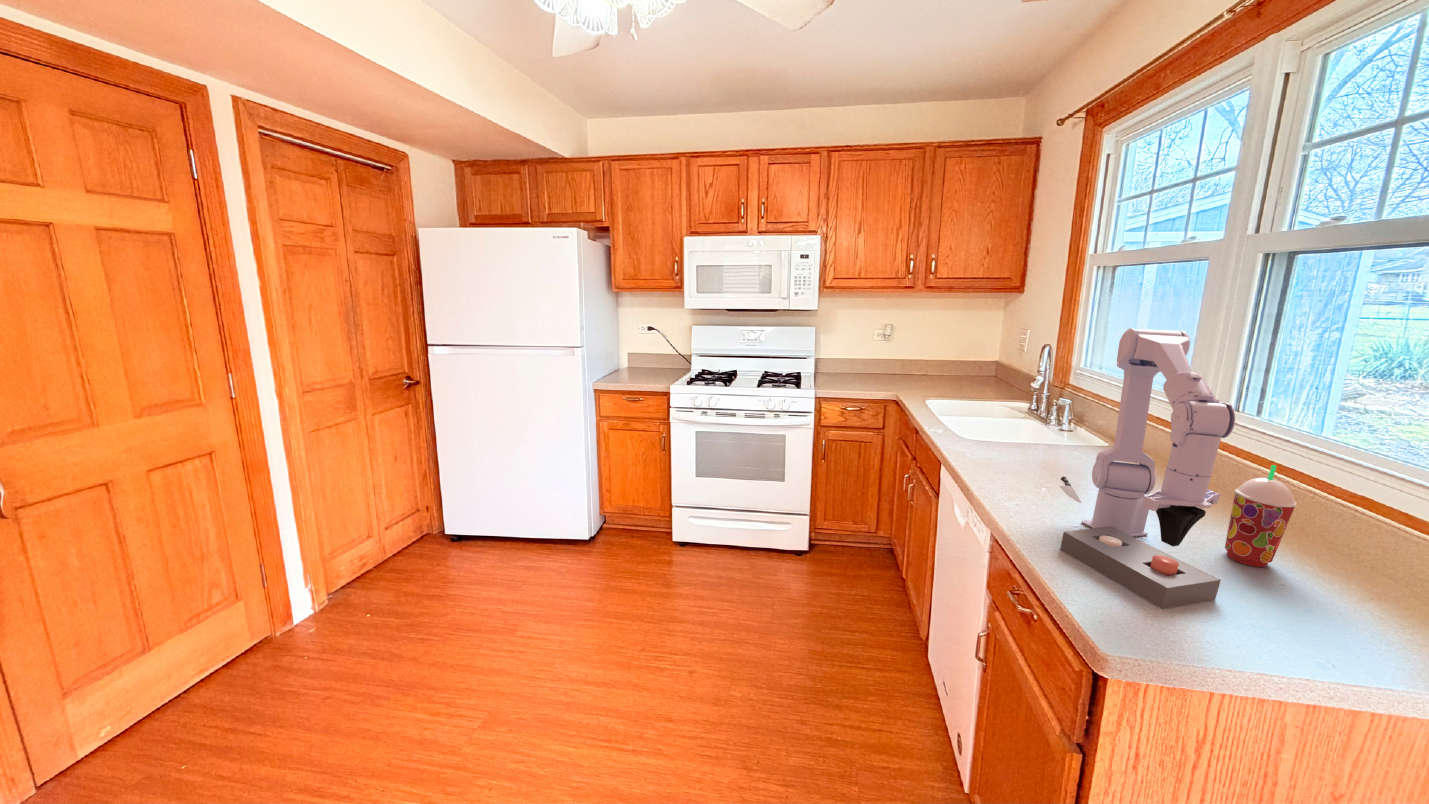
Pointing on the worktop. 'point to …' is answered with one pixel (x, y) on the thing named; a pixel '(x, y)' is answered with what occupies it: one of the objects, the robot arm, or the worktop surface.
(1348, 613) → the worktop surface
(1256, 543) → the smoothie
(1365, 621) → the worktop surface
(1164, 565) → the red button
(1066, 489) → the chef's knife
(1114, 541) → the beige button
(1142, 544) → the block
